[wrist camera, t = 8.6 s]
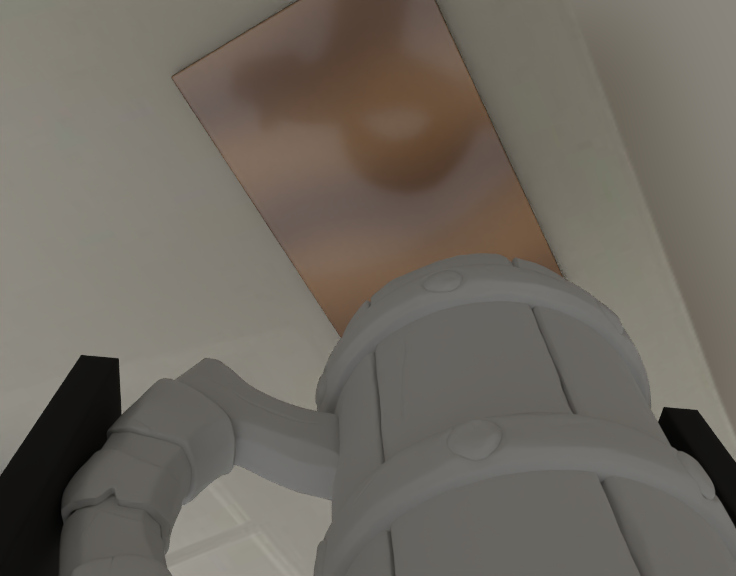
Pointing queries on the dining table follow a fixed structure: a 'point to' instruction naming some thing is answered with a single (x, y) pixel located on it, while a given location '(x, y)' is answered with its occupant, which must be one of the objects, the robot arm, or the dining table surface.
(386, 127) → the mat
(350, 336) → the mug
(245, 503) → the dining table surface
